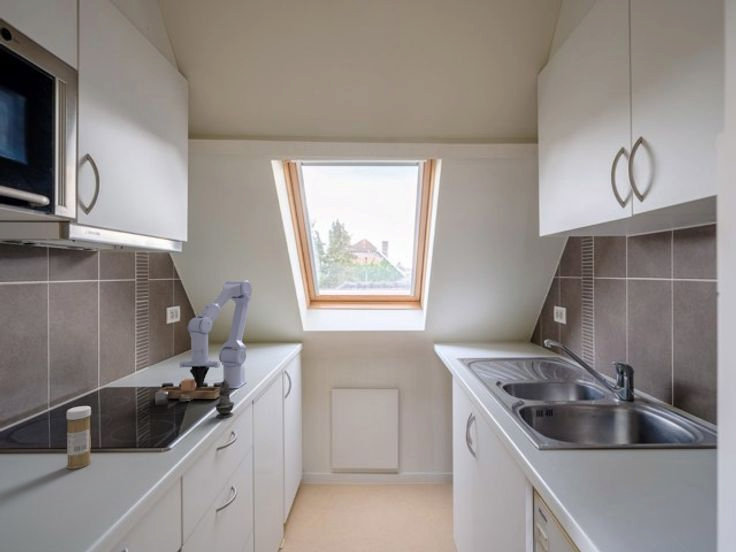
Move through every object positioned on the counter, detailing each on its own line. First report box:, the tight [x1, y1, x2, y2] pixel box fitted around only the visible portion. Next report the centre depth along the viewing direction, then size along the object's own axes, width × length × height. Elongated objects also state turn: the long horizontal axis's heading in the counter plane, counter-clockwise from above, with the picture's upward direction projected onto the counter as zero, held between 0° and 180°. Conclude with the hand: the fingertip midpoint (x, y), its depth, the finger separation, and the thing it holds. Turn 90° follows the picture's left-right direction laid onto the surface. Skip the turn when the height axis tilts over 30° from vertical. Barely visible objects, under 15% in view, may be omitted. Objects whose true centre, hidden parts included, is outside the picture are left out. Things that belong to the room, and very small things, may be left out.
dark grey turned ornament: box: [214, 378, 235, 419], centre depth 122 cm, size 6×6×12 cm
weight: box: [154, 391, 169, 407], centre depth 135 cm, size 4×4×4 cm
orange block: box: [180, 378, 196, 391], centre depth 140 cm, size 4×3×4 cm
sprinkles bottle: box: [66, 405, 92, 470], centre depth 89 cm, size 5×5×14 cm
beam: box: [155, 386, 220, 403], centre depth 140 cm, size 22×7×4 cm, turn 86°
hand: (199, 386), depth 140 cm, fingers closed
